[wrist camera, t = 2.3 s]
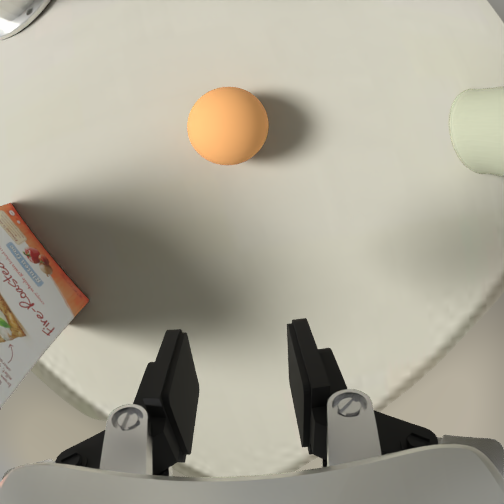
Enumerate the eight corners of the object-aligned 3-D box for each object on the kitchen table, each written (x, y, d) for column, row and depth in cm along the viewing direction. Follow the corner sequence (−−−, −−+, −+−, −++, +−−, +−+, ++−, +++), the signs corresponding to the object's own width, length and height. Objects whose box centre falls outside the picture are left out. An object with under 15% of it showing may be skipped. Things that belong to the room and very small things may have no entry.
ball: (197, 167, 26) (185, 172, 21) (190, 98, 24) (177, 85, 19) (268, 159, 26) (275, 163, 21) (262, 91, 24) (267, 75, 19)
